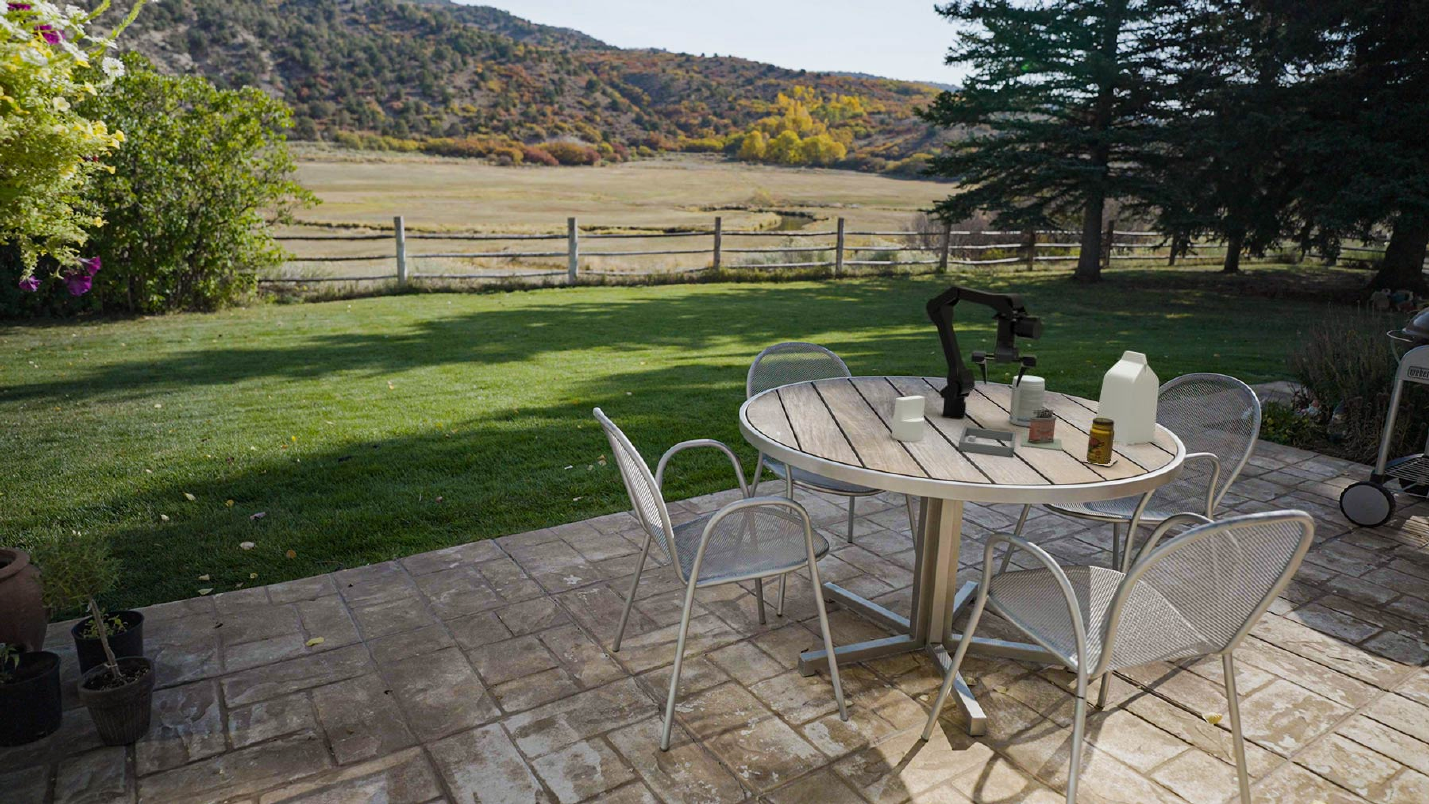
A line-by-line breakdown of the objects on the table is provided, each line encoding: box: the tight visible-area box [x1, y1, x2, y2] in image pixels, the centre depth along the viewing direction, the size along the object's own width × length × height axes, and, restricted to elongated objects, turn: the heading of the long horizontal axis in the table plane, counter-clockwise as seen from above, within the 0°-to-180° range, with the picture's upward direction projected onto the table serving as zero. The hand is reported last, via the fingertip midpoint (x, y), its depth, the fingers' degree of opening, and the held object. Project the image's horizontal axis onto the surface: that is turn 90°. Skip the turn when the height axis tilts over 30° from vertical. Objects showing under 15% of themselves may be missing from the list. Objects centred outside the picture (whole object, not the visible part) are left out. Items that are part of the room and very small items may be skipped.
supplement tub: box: [1008, 375, 1046, 428], centre depth 265 cm, size 10×10×15 cm
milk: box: [1095, 350, 1160, 445], centre depth 250 cm, size 12×12×26 cm
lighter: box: [1028, 407, 1057, 444], centre depth 244 cm, size 8×3×10 cm, turn 105°
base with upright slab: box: [891, 395, 926, 443], centre depth 247 cm, size 9×9×12 cm
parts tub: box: [957, 426, 1017, 458], centre depth 242 cm, size 15×18×2 cm
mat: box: [1020, 434, 1063, 452], centre depth 245 cm, size 11×11×1 cm
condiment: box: [1086, 417, 1114, 464], centre depth 228 cm, size 7×8×12 cm
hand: (1001, 385), depth 259 cm, fingers open, 9 cm apart
